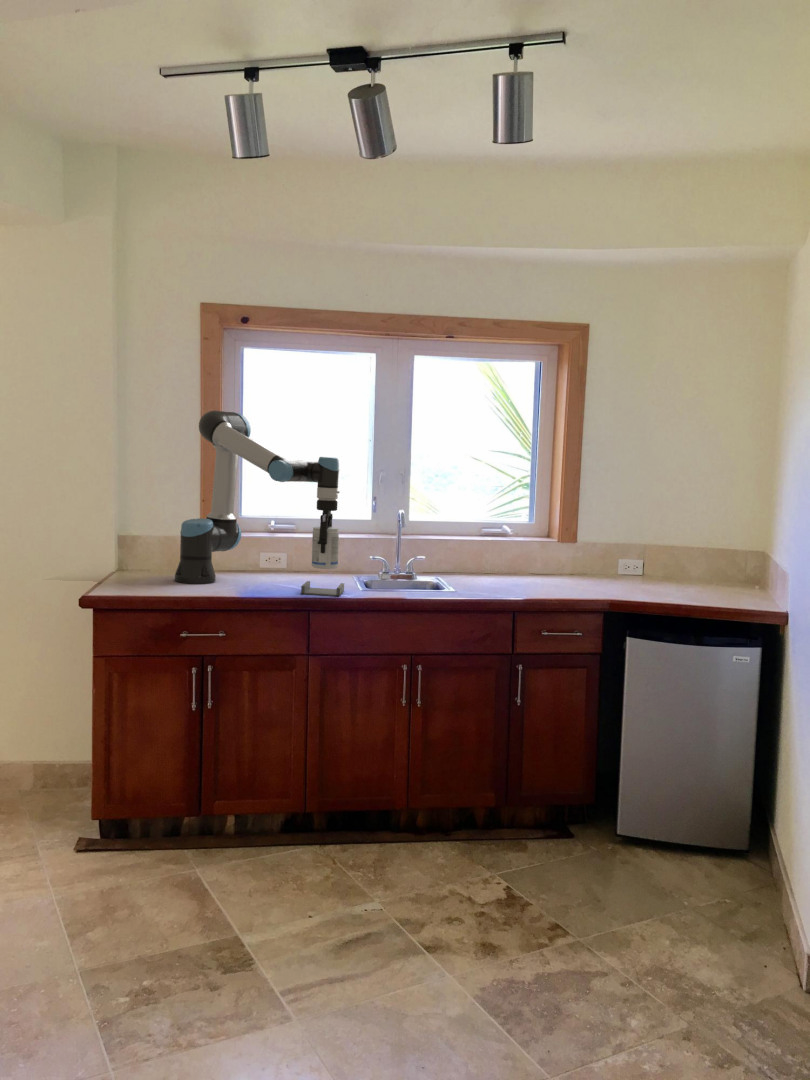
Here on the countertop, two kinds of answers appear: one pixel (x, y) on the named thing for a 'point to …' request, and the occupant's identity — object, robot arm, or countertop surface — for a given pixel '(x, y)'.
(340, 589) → the end holder
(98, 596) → the countertop surface
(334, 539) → the supplement tub
